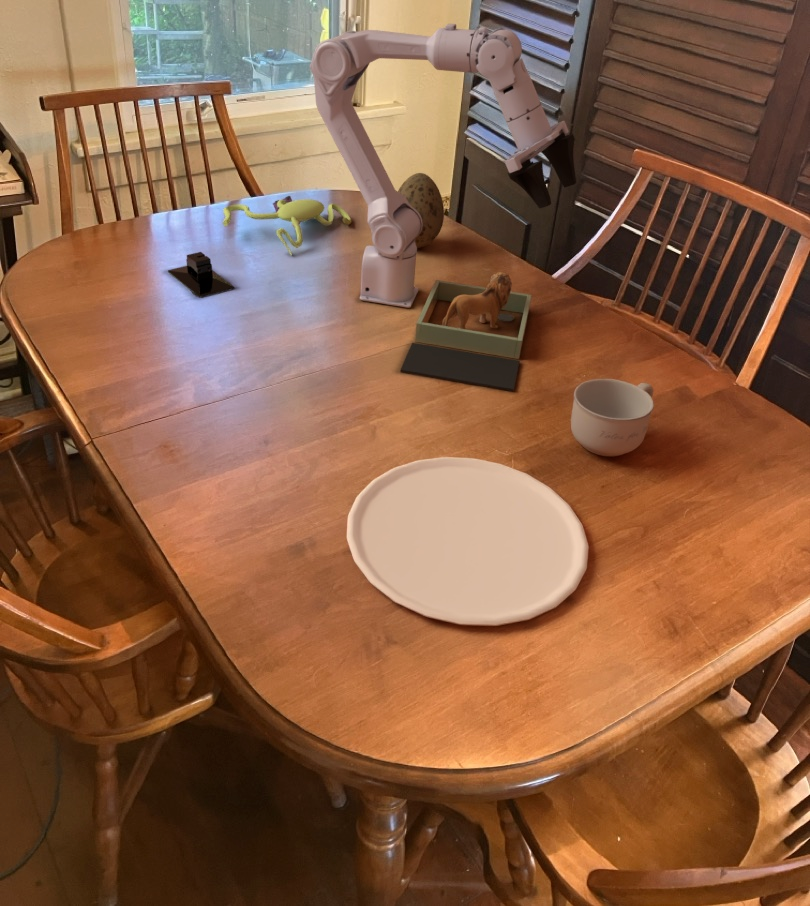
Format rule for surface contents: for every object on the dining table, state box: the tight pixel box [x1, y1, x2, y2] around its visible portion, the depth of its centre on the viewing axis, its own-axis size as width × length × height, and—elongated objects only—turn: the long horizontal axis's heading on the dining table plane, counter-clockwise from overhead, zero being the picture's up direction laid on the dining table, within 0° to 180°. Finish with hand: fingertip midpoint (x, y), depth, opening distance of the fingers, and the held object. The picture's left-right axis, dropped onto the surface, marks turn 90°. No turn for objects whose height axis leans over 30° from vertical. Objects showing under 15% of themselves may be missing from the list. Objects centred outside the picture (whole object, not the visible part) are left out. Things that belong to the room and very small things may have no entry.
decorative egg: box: [397, 172, 445, 249], centre depth 162 cm, size 11×11×15 cm
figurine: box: [222, 195, 352, 256], centre depth 167 cm, size 18×27×6 cm
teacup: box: [570, 378, 655, 457], centre depth 113 cm, size 14×11×8 cm
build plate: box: [167, 251, 235, 298], centre depth 146 cm, size 12×7×5 cm, turn 39°
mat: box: [399, 342, 521, 393], centre depth 129 cm, size 18×9×1 cm, turn 78°
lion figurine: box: [441, 271, 513, 330], centre depth 137 cm, size 15×5×9 cm, turn 129°
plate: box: [346, 456, 590, 627], centre depth 97 cm, size 29×29×1 cm
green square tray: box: [414, 279, 533, 360], centre depth 139 cm, size 18×18×4 cm
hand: (558, 195), depth 127 cm, fingers open, 7 cm apart
